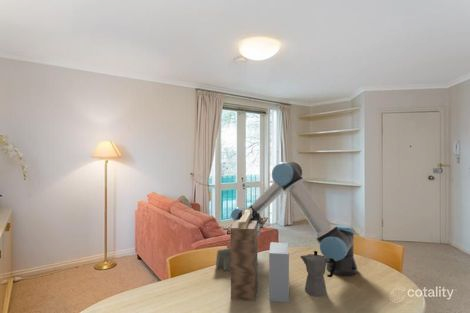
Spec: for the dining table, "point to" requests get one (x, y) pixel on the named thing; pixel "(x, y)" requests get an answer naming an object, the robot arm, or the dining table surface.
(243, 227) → the beech bar
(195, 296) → the dining table surface
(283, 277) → the white rectangular block
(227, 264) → the digital clock
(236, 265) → the walnut plinth
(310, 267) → the coffeepot
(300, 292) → the dining table surface
